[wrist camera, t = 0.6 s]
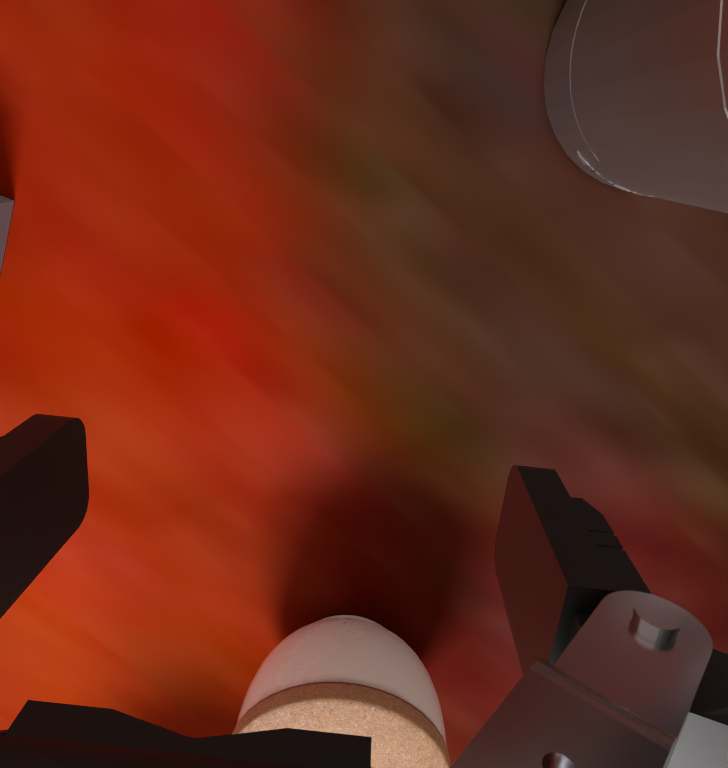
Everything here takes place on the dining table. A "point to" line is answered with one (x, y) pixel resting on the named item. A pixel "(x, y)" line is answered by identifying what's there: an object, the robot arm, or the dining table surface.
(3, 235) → the panel
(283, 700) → the lidded jar
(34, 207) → the dining table surface
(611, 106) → the robot arm
